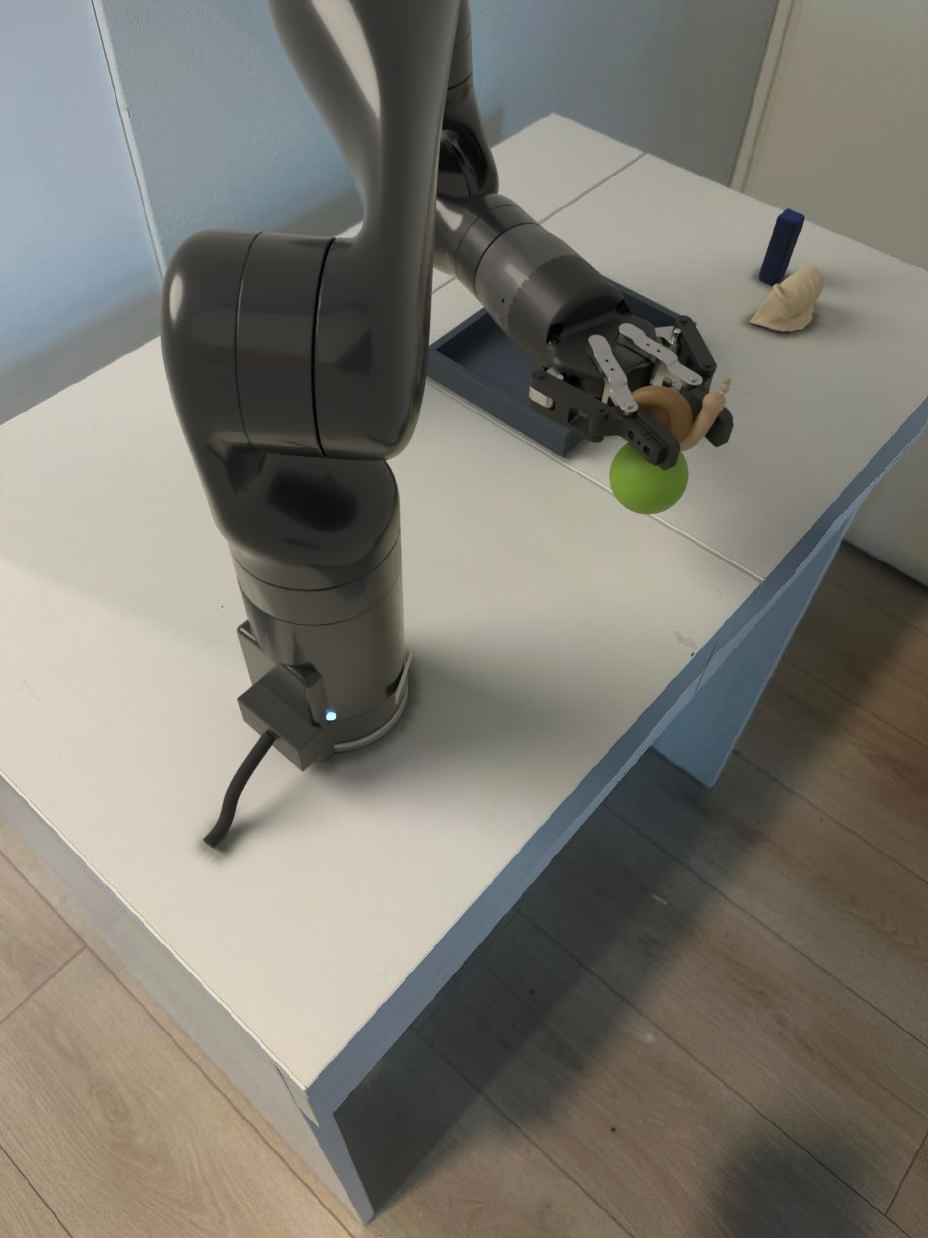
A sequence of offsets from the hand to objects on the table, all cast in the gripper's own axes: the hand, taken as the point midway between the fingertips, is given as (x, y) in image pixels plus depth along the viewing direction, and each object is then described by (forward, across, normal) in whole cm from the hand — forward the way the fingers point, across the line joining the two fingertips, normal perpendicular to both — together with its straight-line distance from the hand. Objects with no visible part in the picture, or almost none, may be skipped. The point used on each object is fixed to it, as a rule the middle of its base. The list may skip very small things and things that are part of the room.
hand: (699, 446), depth 60 cm
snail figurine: (-3, 0, +8) cm, 9 cm away
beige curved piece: (-19, +30, +13) cm, 38 cm away
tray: (-24, +8, +13) cm, 29 cm away
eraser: (-24, +33, +13) cm, 43 cm away
